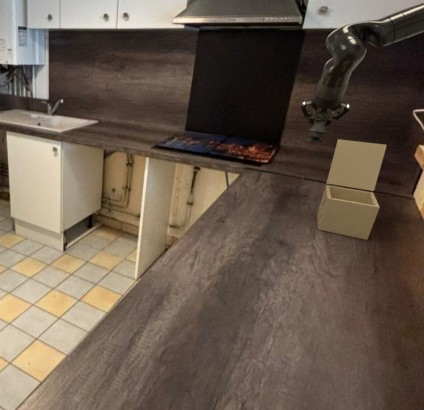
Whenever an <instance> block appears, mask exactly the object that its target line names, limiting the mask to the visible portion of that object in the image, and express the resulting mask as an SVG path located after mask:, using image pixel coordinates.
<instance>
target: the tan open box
mask: <svg viewBox="0 0 424 410" xmlns="http://www.w3.org/2000/svg"><path fill="white" fill-rule="evenodd" d="M380 208H381V207H380V204H379V203H378V200H377V198H376V196H375V193H374V191H368V190H364V191H361V190H354V189H348V188H342V187H339V186H337V185H330V184H325V187H324V190H323V194H322V197H321V200H320V203H319V206H318V210H317V213H316V218H317V221H316V222H317V231H318V230H319V231H322V232H323V231H324V232H328V233H333V234H337V235H342V236H347V237H352V238H356V239H361V240H365V241H368V239H369V237H370V234H371V232H372V229H373V226H374V224H375V221H376V219H377V215H378V214H379V210H380Z"/></svg>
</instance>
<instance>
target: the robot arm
mask: <svg viewBox="0 0 424 410" xmlns="http://www.w3.org/2000/svg"><path fill="white" fill-rule="evenodd" d="M422 33H424V2H422V3H419V4H415V5H413V6H409V7H406V8H403V9H401V10H398V11H395V12H393V13H391V14H388V15H386V16H383V17H381V18H377V19H371V20H365V21H360V22H354V23H349V24H345V25H343V26H340V27H337V28H336V29H334V30H333V31H332V32H331V33H330V34H328V36H327V37H326V39H325V42H324V44H325V48H326V50H327V52H328V53H329V55H330V56H331V58H330V59H329V60H327V62H326V63H325V64H324V66H323V69H322V72H321V75H320V78H319V81H318V83H317V86H316V88H315V92H314V96H313V97H312V99H311V100H309V101H307V100H305V99H303V100H302V101H301V106H300V109H301V111H302V115H303V117H304V118H309V119H308V124H310V126H314V123H315V118H316V117H317V115H318V114H319V113H327V116H326V119H327V120H326V121H325V125H324V127H328V126H330V125H331V124H332V121H333V120H335V121H339V120H340V119H342V117H344V116H346V114H348V112H350V110H351V105H352V104H351V103H350V102H347V103H343V98H344V96H345V94H346V91H347V88H348V85H349V81H350V79H351V78H350V77H351V75H352V72H353V71H354V70H355V69H356V68H357V67H358V65H359V64H360V63H361V62H362V61H363V60H364V58H365V56H366V54H367V45H366V43H368V44H369V45H371V46H373V47H374V48H378V49H379V48H383V47H387V46H389V45H392V44H395V43H398V42H400V41H403V40H406V39H408V38H411V37H414V36H416V35H418V34H422ZM310 107H311V108H312V110H311V109H310ZM336 110H337V111H336ZM335 111H336V112H335Z"/></svg>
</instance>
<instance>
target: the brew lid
mask: <svg viewBox="0 0 424 410" xmlns="http://www.w3.org/2000/svg"><path fill="white" fill-rule="evenodd" d="M386 150H387V144H385V143H384V144H382V143H374V142H365V141H356V140H346V139H339V138H338V139H337V142H336V146H335V149H334V153H333V157H332V161H331V164H330V168H329V173H328V176H327V180H326V185H332V186H338V187H339V186H345V187H351V188H357V189H364V191H369V192H374V191H375V190H376V185H377V181H378V179H379V174H380V171H381V167H382V164H383V161H384V156H385V154H386V153H385V152H386Z"/></svg>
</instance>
